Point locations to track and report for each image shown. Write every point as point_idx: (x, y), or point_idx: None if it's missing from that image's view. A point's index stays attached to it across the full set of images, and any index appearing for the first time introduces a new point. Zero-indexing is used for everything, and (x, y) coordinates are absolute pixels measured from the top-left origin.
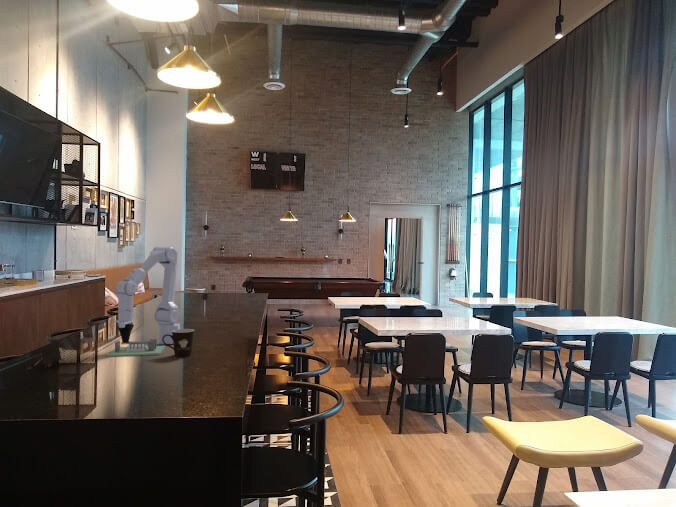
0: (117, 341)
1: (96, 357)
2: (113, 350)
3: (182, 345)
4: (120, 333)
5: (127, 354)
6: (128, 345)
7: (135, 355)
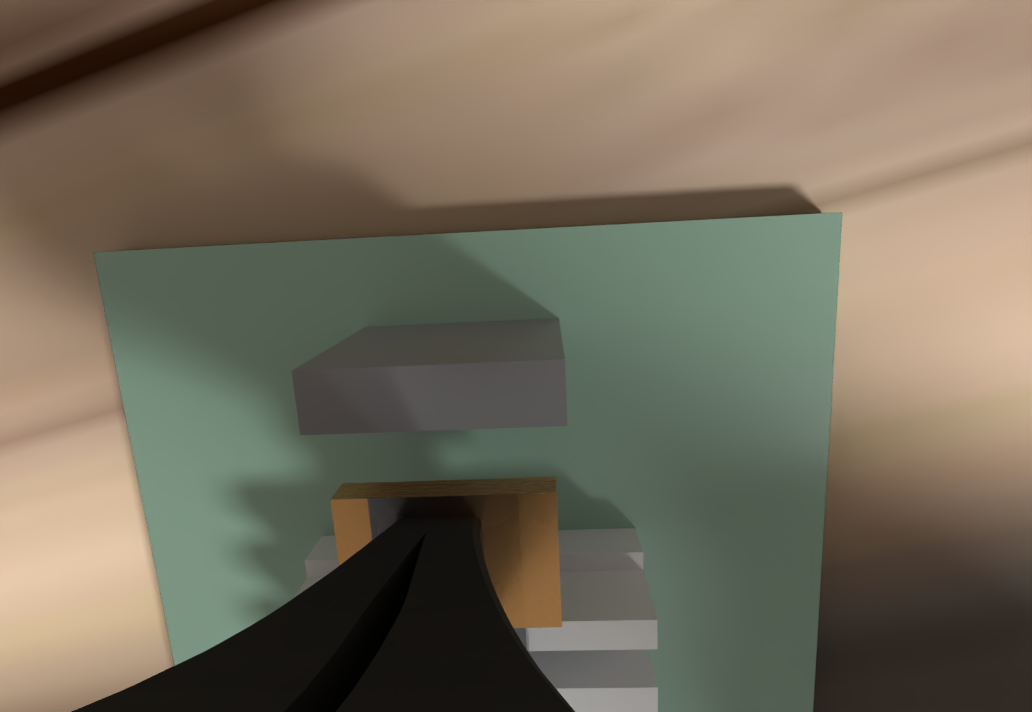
0: (424, 396)
1: (65, 75)
2: (484, 261)
3: None
4: (201, 657)
5: (166, 586)
6: None
7: None
